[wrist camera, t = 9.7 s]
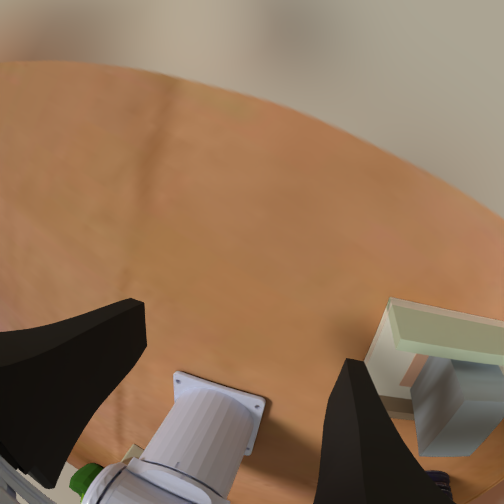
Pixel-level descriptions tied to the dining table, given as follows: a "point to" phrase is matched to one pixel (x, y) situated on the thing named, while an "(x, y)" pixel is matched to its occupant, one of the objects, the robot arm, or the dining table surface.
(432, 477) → the storage jar
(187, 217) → the dining table surface
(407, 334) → the open-front display tray
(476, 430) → the slate cabinet block
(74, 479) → the bell pepper
